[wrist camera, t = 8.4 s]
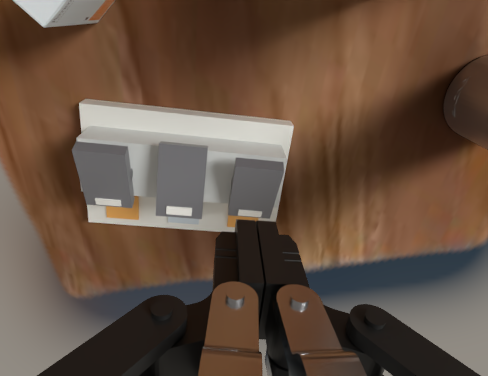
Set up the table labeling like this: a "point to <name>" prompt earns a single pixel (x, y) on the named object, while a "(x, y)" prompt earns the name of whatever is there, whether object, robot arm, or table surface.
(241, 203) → the rocker
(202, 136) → the switch unit
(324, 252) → the table surface
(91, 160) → the block
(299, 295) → the robot arm
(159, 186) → the rocker middle
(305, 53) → the table surface
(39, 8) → the skincare box
